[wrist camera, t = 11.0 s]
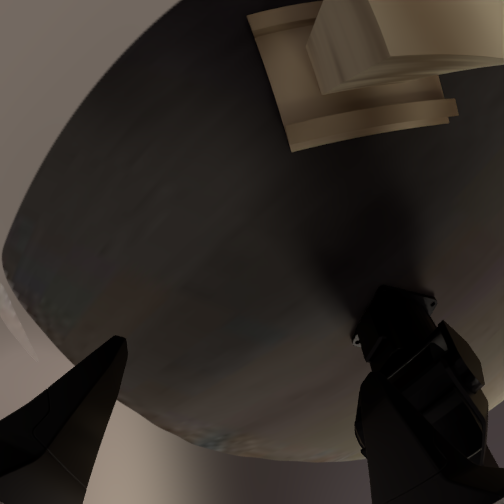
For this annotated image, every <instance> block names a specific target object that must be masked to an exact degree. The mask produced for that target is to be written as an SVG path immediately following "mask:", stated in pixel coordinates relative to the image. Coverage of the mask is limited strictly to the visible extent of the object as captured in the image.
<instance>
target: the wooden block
mask: <svg viewBox="0 0 504 504" xmlns="http://www.w3.org/2000/svg"><path fill="white" fill-rule="evenodd" d="M306 49H307V52H308V55H309V58H310V61H311V63H312V66H313V69H314V72H315V75H316V78H317V81H318V85H319V88H320V91H321V94H322V95H326V94H331V93H336V92H341V91H347V90H353V89H359V88H365V87H372V86H380V85H387V84H396V83H405V82H409V81H413V80H417V79H422V78H426V77H431V76H435V75H440V74H445V73H450V72H456V71H461V70H467V69H474V68H480V67H488V66H496V65H504V0H323V3H322V5H321V8H320V10H319V13H318V15H317V18H316V21H315V23H314V26H313V28H312V31H311V34H310V36H309V39H308V42H307V44H306Z"/></svg>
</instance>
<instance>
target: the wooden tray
mask: <svg viewBox="0 0 504 504" xmlns="http://www.w3.org/2000/svg"><path fill="white" fill-rule="evenodd" d="M322 3H323V1H315V2H309V3H302V4H296V5H291V6H286V7H281V8H276V9H271V10H267V11H263V12H259V13H255V14H251V15H247V19H248V22H249V25H250V27H251V30H252V33H253V35H254V38H255V41H256V44H257V46H258V49H259V52H260V55H261V58H262V60H263V63H264V66H265V69H266V72H267V75H268V78H269V81H270V84H271V87H272V90H273V93H274V96H275V99H276V103H277V106H278V109H279V112H280V115H281V119H282V122H283V125H284V129H285V132H286V135H287V139H288V142H289V146H290V149H291V152H295V151H299V150H303V149H307V148H311V147H316V146H320V145H324V144H329V143H333V142H338V141H343V140H347V139H352V138H357V137H363V136H368V135H373V134H379V133H384V132H390V131H396V130H402V129H409V128H416V127H423V126H430V125H438V124H446V123H449V119H448V117H450V116H459V115H458V110H457V105H456V101H455V99H444V96H443V92H442V88H441V84H440V80H439V76H438V75H435V76H431V77H426V78H422V79H417V80H413V81H409V82H405V83H396V84H387V85H380V86H372V87H365V88H359V89H353V90H347V91H341V92H336V93H331V94H326V95H322V94H321V91H320V88H319V85H318V81H317V78H316V75H315V72H314V69H313V66H312V63H311V61H310V58H309V55H308V52H307V49H306V44H307V42H308V39H309V36H310V34H311V31H312V28H313V26H314V23H315V21H316V18H317V15H318V13H319V10H320V8H321V5H322Z"/></svg>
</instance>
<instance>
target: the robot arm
mask: <svg viewBox="0 0 504 504" xmlns="http://www.w3.org/2000/svg"><path fill="white" fill-rule="evenodd" d="M384 290H386V291H385V292H384V293H382V291H384ZM432 302H433V303H432ZM431 303H432V304H431ZM436 305H437V300H436V299H435V298H434V297H431V296H426V295H422V294H418V293H414V292H410V291H406V290H402V289H398V288H394V287H390V286H386V285H383V286H380V287H379V288H378V290H377V292H376V294H375V296H374V298H373V300H372V302H371V304H370V306H369V307H368V308H367V309H366V311H365V313H364V315H363V317H362V319H361V321H360V323H359V324H358V326H357V328H356V333H355V334H354V336H353V338H352V344H353V345H354V346H357V347H361V348H362V351H363V355H364V358H365V361H366V362H369V363H370V366H371V369H372V372H370V373H369V374H368V376H367V377H366V378H365V380H364V381H363V382H362V384H361V387H360V391H359V398H358V406H357V414H356V421H355V425H354V426H355V435H356V438H357V440H358V442H359V444H360V446H361V447H362V449H361V453H362V454H363V455H364V456H365V457H366V458H367V460H368V469H369V477H370V487H371V498H372V504H504V468H499V466H498V464H497V463H496V461H495V459H494V457H493V455H492V454H491V452H490V450H489V449H488V446H487V430H488V401H487V399H486V397H485V395H484V394H483V392H482V390H481V389H480V388H482V387H483V386H484V385H485V382H484V377H483V372H482V367H481V362H480V360H479V359H478V357H477V356H476V354H475V353H474V351H473V350H472V349H471V347H470V346H469V344H468V343H467V342H466V341H465V340H464V339H463V338H462V337H461V336H460V335H459V334H458V333H457V332H456V331H455V330H454V329H453V328H451V327H450V326H449V325H448V324H447V323H446V322H445V321H444V320H442V321H441V322H440V323H439V324H438V327H436V325H435V323H434V322H433V320H432V319H431V317H430V316H431V314H432V312H433V310H434V309H435V307H436ZM357 340H359V341H357ZM127 358H128V350H127V342H126V339H125V338H124V337H120V336H116V335H115V336H113V337H112V338H110V339H109V340H108V341H107V342H105V343H104V344H103V345H101V346H100V347H99V348H98V349H96V350H95V351H94V352H92V353H91V354H90V355H89V356H87V357H86V358H85V359H84V360H82V361H81V362H80V363H78V364H77V365H76V366H75V367H73V368H72V369H71V370H70V371H68V372H67V373H66V374H65V375H63V376H62V377H61V378H60V379H58V380H57V381H56V382H55V383H53V384H52V385H51V386H50V387H49V388H48V389H46V390H44V391H43V392H42V393H41V394H39V395H38V396H37V397H35V398H34V399H33V400H32V401H30V402H29V403H27V404H26V405H24V406H23V407H21V408H20V409H18V410H16V411H15V412H13V413H12V414H10V415H8V416H7V417H5V418H3V419H2V420H0V504H83V500H84V496H85V493H86V488H87V486H88V482H89V479H90V476H91V472H92V469H93V466H94V463H95V460H96V457H97V454H98V450H99V447H100V444H101V441H102V439H103V436H104V432H105V430H106V427H107V424H108V421H109V419H110V416H111V413H112V410H113V407H114V405H115V402H116V400H117V397H118V393H119V389H120V385H121V381H122V377H123V373H124V369H125V366H126V362H127Z"/></svg>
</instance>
